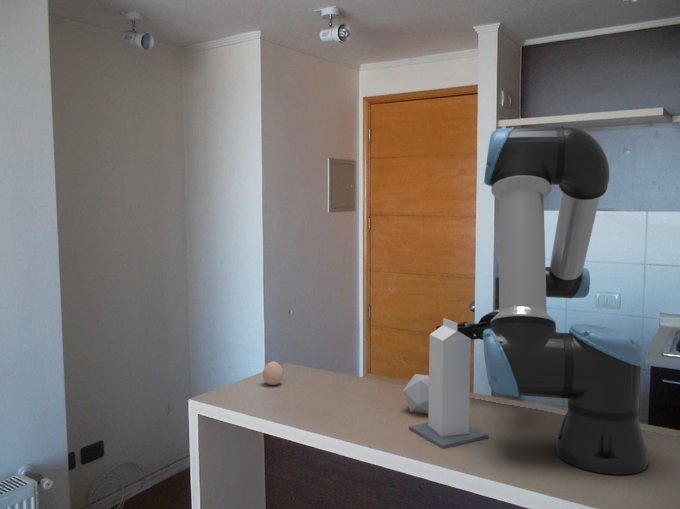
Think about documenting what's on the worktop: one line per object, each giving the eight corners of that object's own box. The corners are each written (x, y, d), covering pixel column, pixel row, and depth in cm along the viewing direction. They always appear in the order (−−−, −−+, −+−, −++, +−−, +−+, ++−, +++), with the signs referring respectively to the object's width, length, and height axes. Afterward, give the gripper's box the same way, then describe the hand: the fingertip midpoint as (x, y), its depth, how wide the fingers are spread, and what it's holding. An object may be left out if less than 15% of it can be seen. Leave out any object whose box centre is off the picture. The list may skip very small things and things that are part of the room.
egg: (287, 385, 153) (286, 362, 153) (269, 389, 150) (269, 365, 150) (276, 380, 157) (276, 358, 157) (259, 384, 154) (259, 361, 154)
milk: (441, 437, 118) (442, 324, 116) (427, 426, 123) (428, 318, 122) (469, 434, 119) (471, 322, 118) (455, 423, 125) (456, 316, 123)
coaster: (488, 437, 119) (488, 434, 119) (443, 448, 114) (443, 445, 114) (452, 420, 129) (452, 417, 129) (409, 429, 123) (409, 426, 123)
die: (449, 411, 136) (430, 371, 140) (452, 403, 129) (432, 361, 133) (415, 425, 136) (398, 385, 140) (416, 418, 128) (398, 376, 132)
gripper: (551, 348, 140) (526, 369, 122) (448, 336, 153) (412, 353, 135) (552, 316, 139) (527, 332, 121) (448, 306, 152) (412, 319, 134)
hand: (466, 343), depth 128 cm, fingers open, 13 cm apart
